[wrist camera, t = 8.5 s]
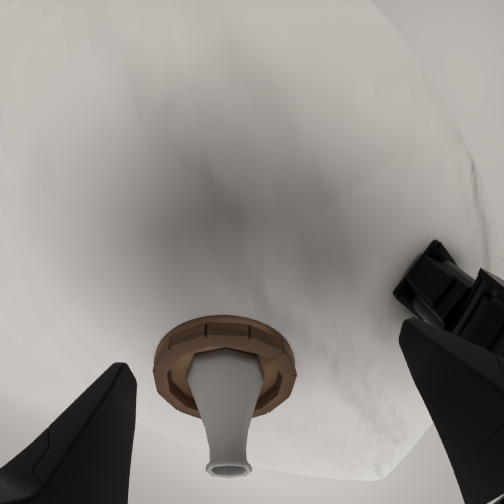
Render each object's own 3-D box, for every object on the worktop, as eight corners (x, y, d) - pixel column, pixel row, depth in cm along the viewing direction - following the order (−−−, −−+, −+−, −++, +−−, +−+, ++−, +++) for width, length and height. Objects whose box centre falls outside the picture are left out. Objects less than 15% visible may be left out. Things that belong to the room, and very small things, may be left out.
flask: (182, 344, 22) (168, 450, 13) (268, 346, 22) (289, 450, 13) (189, 395, 25) (183, 483, 15) (260, 396, 25) (273, 482, 16)
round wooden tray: (321, 351, 24) (327, 367, 22) (242, 418, 28) (243, 432, 26) (197, 288, 20) (195, 303, 18) (136, 377, 24) (131, 393, 22)
